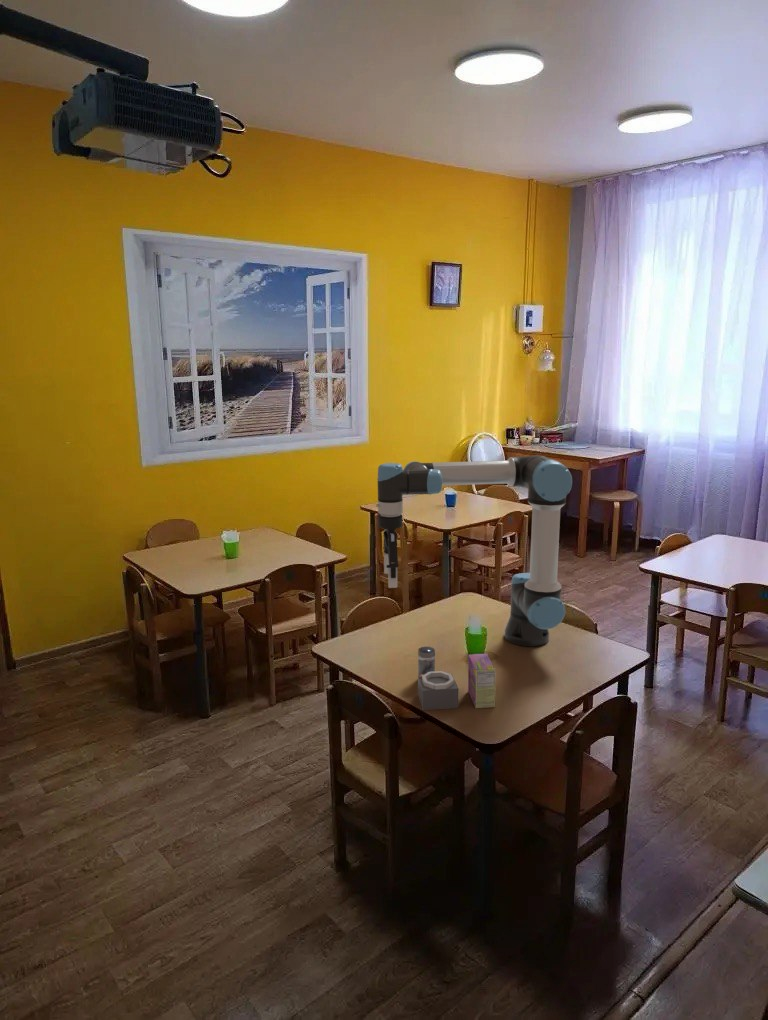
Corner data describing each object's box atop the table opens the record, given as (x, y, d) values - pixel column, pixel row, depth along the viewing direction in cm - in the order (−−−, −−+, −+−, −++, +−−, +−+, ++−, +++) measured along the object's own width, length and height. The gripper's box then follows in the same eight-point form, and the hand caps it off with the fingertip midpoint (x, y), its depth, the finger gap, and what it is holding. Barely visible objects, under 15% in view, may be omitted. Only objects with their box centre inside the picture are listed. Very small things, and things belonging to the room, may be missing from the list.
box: (467, 691, 202) (468, 654, 200) (486, 690, 203) (487, 653, 200) (474, 709, 192) (475, 670, 190) (494, 708, 193) (496, 669, 190)
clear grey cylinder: (433, 676, 212) (433, 645, 210) (436, 683, 207) (436, 652, 205) (416, 677, 211) (416, 646, 209) (419, 684, 206) (419, 653, 204)
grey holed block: (451, 692, 201) (451, 669, 200) (458, 708, 193) (458, 684, 191) (417, 694, 200) (417, 672, 199) (423, 710, 192) (423, 686, 190)
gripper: (374, 505, 222) (375, 568, 227) (381, 524, 198) (382, 594, 203) (397, 504, 223) (398, 567, 227) (407, 523, 198) (407, 593, 203)
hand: (390, 580), depth 215 cm, fingers open, 13 cm apart
